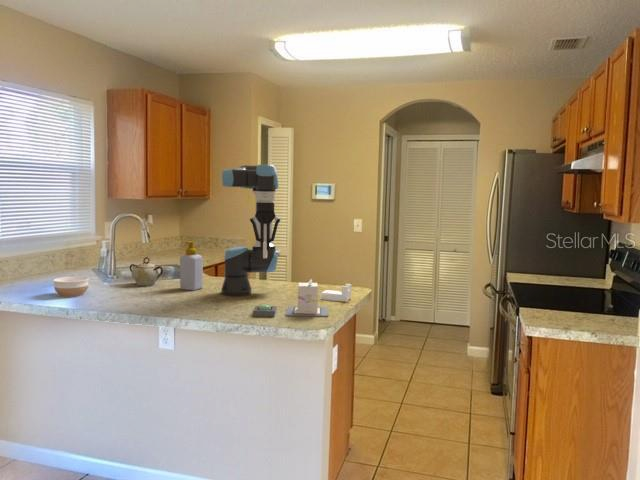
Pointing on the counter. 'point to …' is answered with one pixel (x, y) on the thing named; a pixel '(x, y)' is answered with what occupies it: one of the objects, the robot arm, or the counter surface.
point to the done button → (265, 307)
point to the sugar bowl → (146, 273)
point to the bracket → (338, 294)
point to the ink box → (308, 297)
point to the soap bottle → (191, 269)
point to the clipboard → (294, 312)
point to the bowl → (71, 286)
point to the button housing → (264, 312)
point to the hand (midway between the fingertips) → (265, 257)
